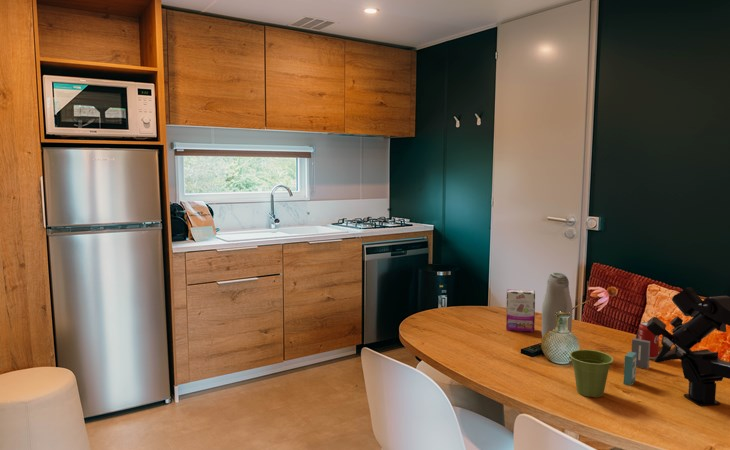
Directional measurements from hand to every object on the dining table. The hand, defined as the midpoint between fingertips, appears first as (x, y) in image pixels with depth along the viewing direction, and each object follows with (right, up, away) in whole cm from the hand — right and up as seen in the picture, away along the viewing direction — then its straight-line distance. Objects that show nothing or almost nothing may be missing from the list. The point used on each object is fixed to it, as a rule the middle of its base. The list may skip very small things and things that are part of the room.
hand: (655, 361), depth 156 cm
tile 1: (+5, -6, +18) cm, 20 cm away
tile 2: (-5, -8, +5) cm, 11 cm away
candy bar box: (-24, -2, +58) cm, 62 cm away
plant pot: (-21, -9, -2) cm, 23 cm away
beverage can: (+12, -6, +27) cm, 30 cm away
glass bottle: (-17, -5, +36) cm, 40 cm away
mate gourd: (+17, -4, +37) cm, 41 cm away
